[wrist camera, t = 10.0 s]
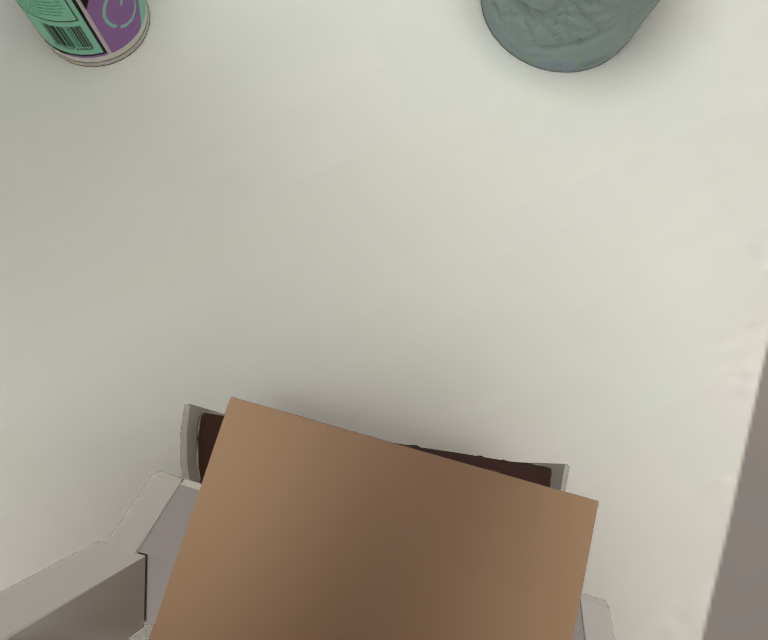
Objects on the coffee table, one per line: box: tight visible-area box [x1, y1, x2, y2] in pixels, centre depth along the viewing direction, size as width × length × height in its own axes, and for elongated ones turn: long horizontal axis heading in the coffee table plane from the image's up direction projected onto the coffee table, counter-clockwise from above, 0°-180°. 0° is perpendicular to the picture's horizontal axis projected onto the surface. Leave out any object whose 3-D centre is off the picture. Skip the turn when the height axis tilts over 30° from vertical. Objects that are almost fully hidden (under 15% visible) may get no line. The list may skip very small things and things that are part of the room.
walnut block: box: [149, 397, 598, 640], centre depth 11 cm, size 5×5×8 cm
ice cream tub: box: [181, 404, 569, 492], centre depth 22 cm, size 12×6×10 cm, turn 81°
